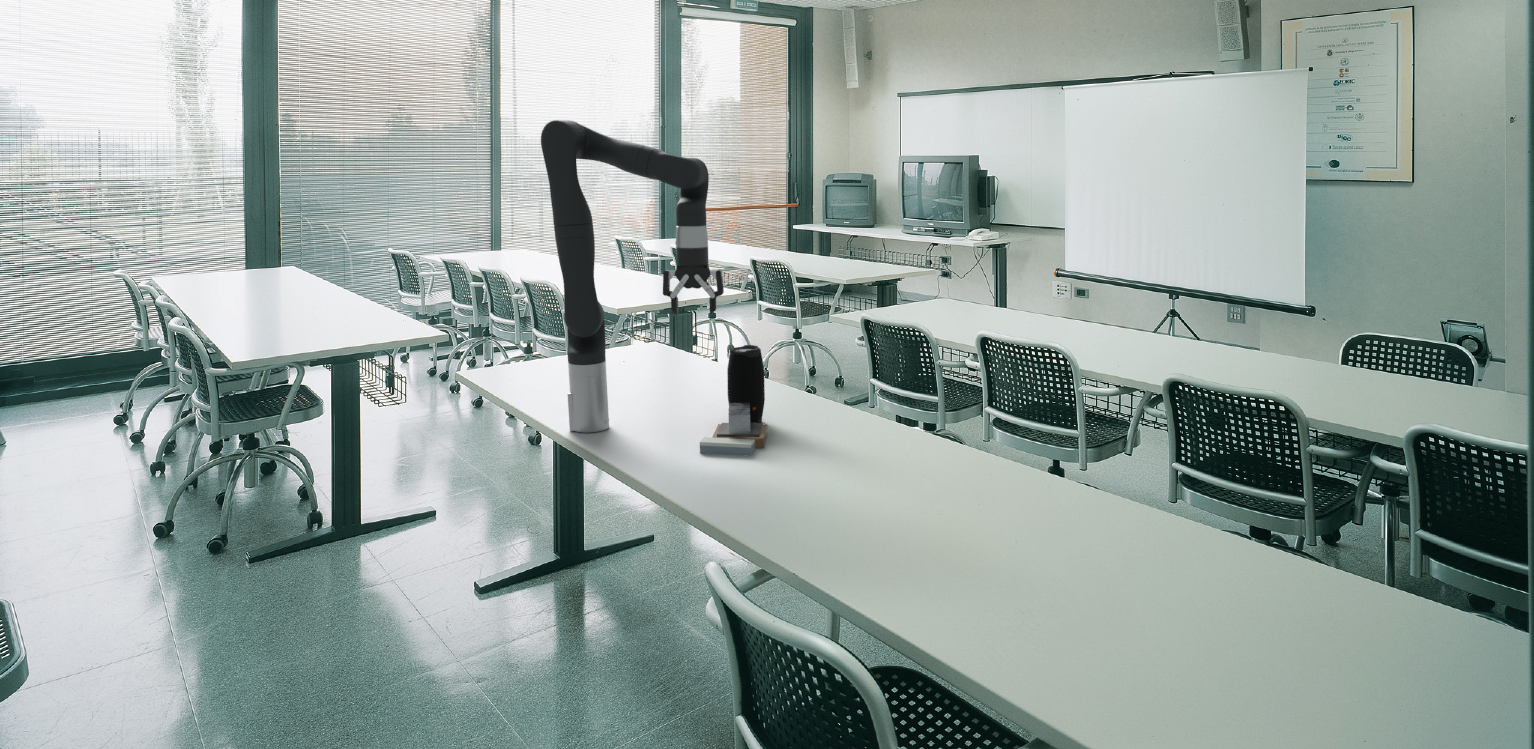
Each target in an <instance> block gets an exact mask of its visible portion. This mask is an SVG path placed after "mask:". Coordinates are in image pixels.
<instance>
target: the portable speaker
mask: <svg viewBox="0 0 1534 749" xmlns="http://www.w3.org/2000/svg"><path fill="white" fill-rule="evenodd" d="M728 357H729V358H728V363H727V372H726V374H727V401H728V404H729V403H750V423H763V414H764V408H765V400H766V398H765V397H766V396H765V395H766V394H765V392H766V391H765V366H764V361H763V357H762V351H761V348H760V347H759V346H758V345H753V344H744V345H743V346H736V347H735V346H731V347H730V348H729V356H728Z"/></svg>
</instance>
